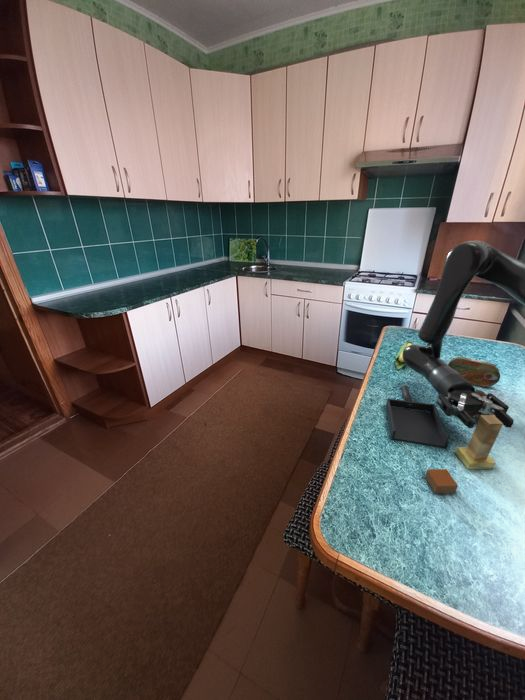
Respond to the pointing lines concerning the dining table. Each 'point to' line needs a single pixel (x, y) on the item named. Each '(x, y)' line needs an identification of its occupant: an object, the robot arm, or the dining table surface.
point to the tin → (476, 371)
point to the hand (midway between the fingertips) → (491, 425)
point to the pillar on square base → (481, 444)
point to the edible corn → (400, 361)
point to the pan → (415, 422)
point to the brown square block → (441, 481)
